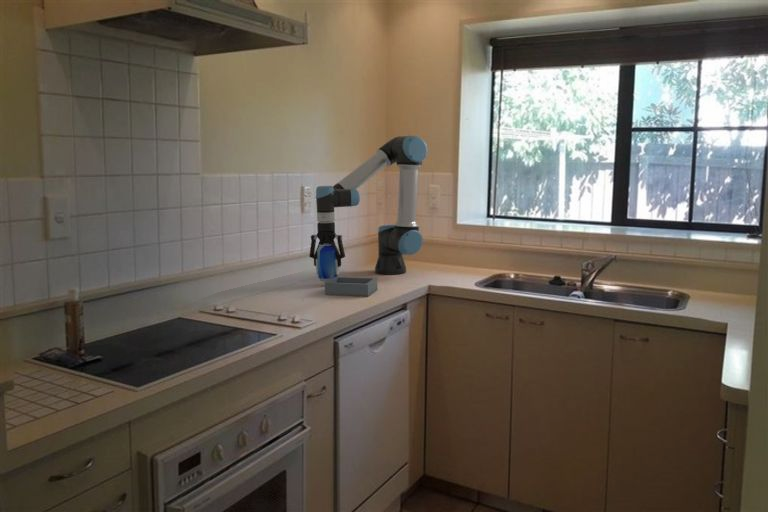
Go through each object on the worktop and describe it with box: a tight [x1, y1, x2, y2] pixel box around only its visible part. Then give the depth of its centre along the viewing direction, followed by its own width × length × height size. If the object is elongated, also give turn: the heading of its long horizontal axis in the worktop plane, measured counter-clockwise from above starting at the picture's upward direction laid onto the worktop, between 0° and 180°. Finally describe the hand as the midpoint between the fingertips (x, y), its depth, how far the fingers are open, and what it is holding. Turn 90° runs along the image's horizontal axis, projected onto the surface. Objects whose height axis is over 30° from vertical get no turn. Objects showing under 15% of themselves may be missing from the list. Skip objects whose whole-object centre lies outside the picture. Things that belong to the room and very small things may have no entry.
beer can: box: [316, 243, 339, 283], centre depth 286 cm, size 8×8×16 cm
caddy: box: [324, 276, 378, 298], centre depth 272 cm, size 14×18×5 cm
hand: (327, 273), depth 287 cm, fingers closed on beer can, 8 cm apart
